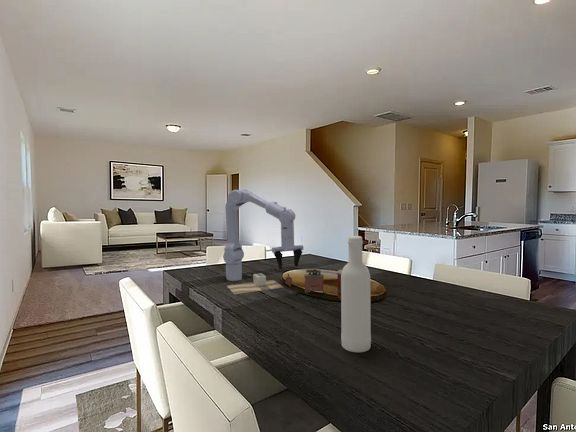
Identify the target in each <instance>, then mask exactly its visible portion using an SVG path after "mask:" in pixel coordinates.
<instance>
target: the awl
mask: <svg viewBox="0 0 576 432" xmlns="http://www.w3.org/2000/svg"><path fill="white" fill-rule="evenodd" d="M284 278H285V279H284V284H285V285H288V286H289V287H291V284H292V285H293V278H292V277H291V276H290V274H289V273H288V274H287V276H286V277H284Z"/></svg>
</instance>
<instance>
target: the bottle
mask: <svg viewBox="0 0 576 432" xmlns="http://www.w3.org/2000/svg"><path fill="white" fill-rule="evenodd" d="M347 243H348V262H346V264H345V265H344V266H343V268H342V269H343V270H342V274H341V300H340V301H341V304H340V307H341V311H340V312H341V315H340V316H341V323H340V324H341V329H340V330H341V335H340V339H341V340H340V342H341V346H342V348H343V349H344V350H346V351H348V352H351V353H365V352H367V351H369V350H370V349H371V344H372V335H371V334H372V333H371V328H372V327H371V323H372V321H371V318H372V317H371V274H370V270H369V268H368V266H367V265H365V264H364V263H363V243H364V241H363V237H362V236H361V235H350V236H348V241H347Z"/></svg>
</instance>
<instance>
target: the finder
mask: <svg viewBox="0 0 576 432" xmlns="http://www.w3.org/2000/svg"><path fill="white" fill-rule="evenodd" d="M252 278H253V281H252V282H253V283H254V284H255V285H256V286H264V285H266V280H267V276H266V275H265V274H263V273H253V274H252Z"/></svg>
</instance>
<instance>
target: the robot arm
mask: <svg viewBox="0 0 576 432" xmlns="http://www.w3.org/2000/svg"><path fill="white" fill-rule="evenodd" d="M248 202H249V203H252V204H255V205H256V206H258V207H260V208H263V209H264V210H265V212H266V214H268V215H270V216H272V217H274V218H276V219H278V221H279V222H280V235H281V236H280V238H281V239H280V243H281V244H280V245H281V246H275V247H271V252H272V253H273V255H274V257H275V259H276V262H277V265H278V269H283V252H292V253H293V261H294V262H293V263H294V267H296V268H297V267H298V266H299V262H300V259H301V256H302V254H303V251H304V245H303V244H298V245H295V224H294V222H295V220H296V213H295V212H294V211H293V210H292V209H289V208H288V209H287V207H286V206H282V205H280V204H279V203H278V202H277V201H270V202H269V201H267V200H265V199H263V198H262V197H260V196H259V195H257V194H255V193H253V192H252V191H250V190H249V191H248V190H247V189H233V190H231V191H230V192H229V193H228V195H227V200H226V203H225V220H226V221H225V222H226V225H225V226H226V240H227V243H226V245H225V246H224V249H223V250H224V252H223V255H222V257H223V261H224V263H225V278H226V280H227V281H229V282H231V281H232V282H237V281H240V280H242V279H243V272H242V271H243V268H242V266H243V265H242V262H243V261H242V260H243V258H244V257H245V252H244V250H243V245H242V244H241V243H240V240H239V239H240V237H239V234H240V233H239V220H238V219H239V216H238V210H239V209H240V208H241V207H242V206H243V205H245V204H247V203H248Z"/></svg>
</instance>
